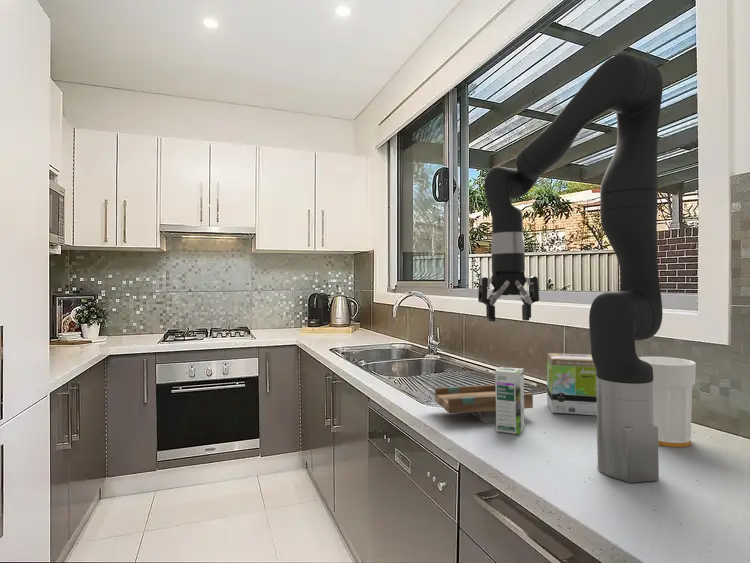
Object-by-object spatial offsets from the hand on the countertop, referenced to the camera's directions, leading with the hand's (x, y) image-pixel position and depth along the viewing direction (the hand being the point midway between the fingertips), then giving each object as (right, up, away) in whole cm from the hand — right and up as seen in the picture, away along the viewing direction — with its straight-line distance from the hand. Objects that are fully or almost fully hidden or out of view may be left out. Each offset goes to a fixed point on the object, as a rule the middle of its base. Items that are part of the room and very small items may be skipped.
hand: (509, 320), depth 108 cm
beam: (-4, -26, +12) cm, 29 cm away
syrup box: (0, -26, 0) cm, 26 cm away
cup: (+32, -26, -8) cm, 42 cm away
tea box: (+23, -26, +15) cm, 38 cm away
